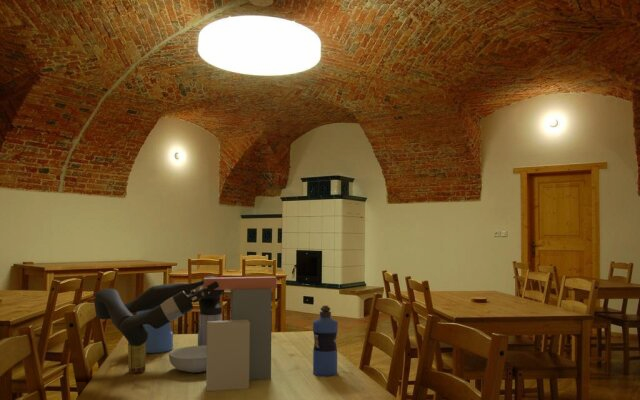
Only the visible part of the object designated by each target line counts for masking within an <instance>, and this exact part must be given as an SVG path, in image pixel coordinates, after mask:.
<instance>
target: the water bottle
mask: <svg viewBox="0 0 640 400" xmlns="http://www.w3.org/2000/svg"><path fill="white" fill-rule="evenodd" d="M331 316H332V311H331V308H330V307H329V305H322V306H321V307H320V311H319V318H317V319H315V320H313V322H312V332H313V340H314V344H313V349H312V350H313V351H312V374H313V375H314V376H316V377H322V378H323V377H324V378H325V377H326V378H327V377H328V378H329V377H334V376H336V375H338V346H337V338H338V331H339V329H338V328H339V324H338V321H337V320H335V319H333V318H332V317H331Z"/></svg>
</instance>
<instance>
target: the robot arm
mask: <svg viewBox="0 0 640 400" xmlns="http://www.w3.org/2000/svg"><path fill="white" fill-rule="evenodd" d="M204 278H219V277H218V276H214V275H207V276H204V277H202V278H201V280H199V281H194V282H189V283H188V282H187V283H184V282H182V283H180V282H179V283H175V282H173V283H165V284H164V283H163V284H158V285H153V287H152V286H151V287H149V288H148V289H146V290H145V291H143V292H142V293H141V294H140V295H139V296H138V297H136V298H134V299H133V300H132V301H129V302H126V303H124V302H123V300H122V298H121V296H120V293H119V291H117V290H116V289H115V288H104V289H100V290H98V291H97V292H96V293H95V294H94V309H95V316H96V318H97V319H99V320H111V322H112V324H113V325H114V327H115V328H116V329H117V330H118V331H119V332H120V333H122V335H123V336H124V338H125V339H126V341H127V343H128V342H129V343H130V344H131V345H133V346H140V345H142V344H144V343H145V342H146V340H147V338H148V332H147V330H146V328H145V327H144V326H143V325H144V324H149V325H151V326H152V327H153V328H155V329H158V328H160V327H162V326H164V325H165V324H167V323H169V322H170V321H171V322H172V321H174V320H176V319H178V318H180V317H182V316H184V315H185V314H187V313H189V312H190V311H193V310H194V305H193V303H196V302H198V306H199V330H198V331H197V346H207V321H223V316H222V315H223V307H222V304H221V296H222V295H223V293H224V292H225V290H214V289H216V288H218V287H219V285H218V283H217V282H216V281H215V282H213V283H212V284H210V285H208V286H206V287H204ZM150 309H152V310H150ZM144 310H150V311H147V312H144V313H141V314H137V312H139V311H144ZM134 313H136V314H134Z"/></svg>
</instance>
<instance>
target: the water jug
mask: <svg viewBox="0 0 640 400" xmlns="http://www.w3.org/2000/svg"><path fill="white" fill-rule="evenodd" d="M153 286H154V285H153ZM153 286H151V287H153ZM150 310H152V309H150ZM150 310H144V311H139V312H136V315H137V314H141V313H144V312H147V311H150ZM171 322H172V321H170V322H169V323H167V324H165V325H164V326H162V327H160V328H158V329H155V328H153V327H152V326H151V325H149V324H144V325H143V326H144V327H145V328H146V330H147V332H148V338H147V340H146V342H145V347H146V348H145V351H146V354H147V353H153V354H161V353H162V352H163V353H166V352H171V351H172V350H173V348H174V333H173V331H172V329H171V327H172V323H171Z"/></svg>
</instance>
